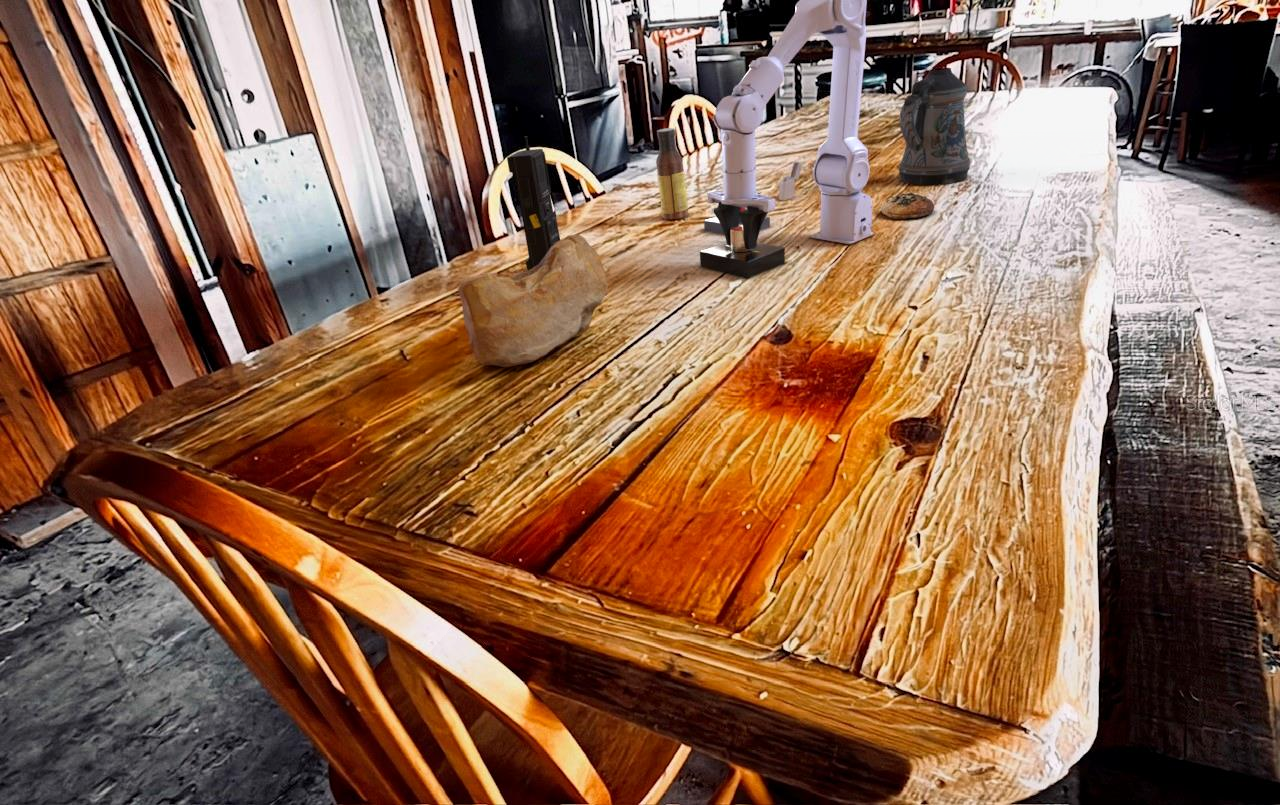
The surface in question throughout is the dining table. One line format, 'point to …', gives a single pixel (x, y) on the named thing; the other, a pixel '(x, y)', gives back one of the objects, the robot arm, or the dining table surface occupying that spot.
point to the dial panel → (742, 259)
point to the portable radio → (534, 202)
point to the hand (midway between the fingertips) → (741, 246)
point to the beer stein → (934, 131)
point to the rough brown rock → (534, 305)
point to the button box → (716, 227)
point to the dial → (737, 239)
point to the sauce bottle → (671, 177)
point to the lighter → (789, 182)
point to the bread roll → (907, 206)
